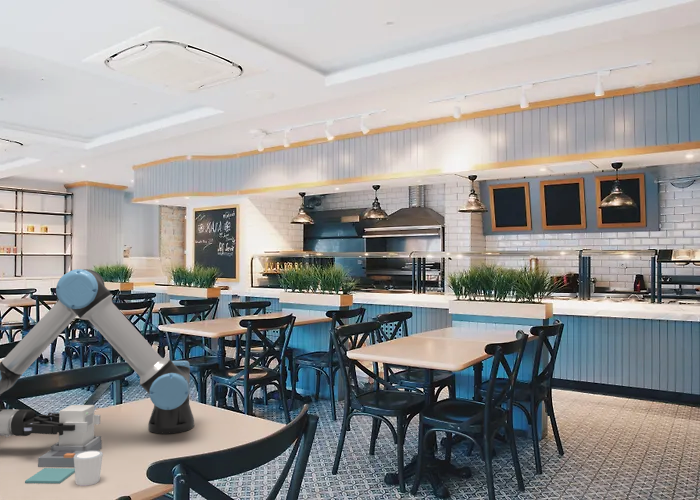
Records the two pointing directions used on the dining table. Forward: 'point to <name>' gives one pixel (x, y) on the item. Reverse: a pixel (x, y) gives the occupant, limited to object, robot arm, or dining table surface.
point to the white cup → (87, 467)
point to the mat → (51, 475)
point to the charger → (77, 415)
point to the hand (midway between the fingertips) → (93, 423)
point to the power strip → (67, 453)
